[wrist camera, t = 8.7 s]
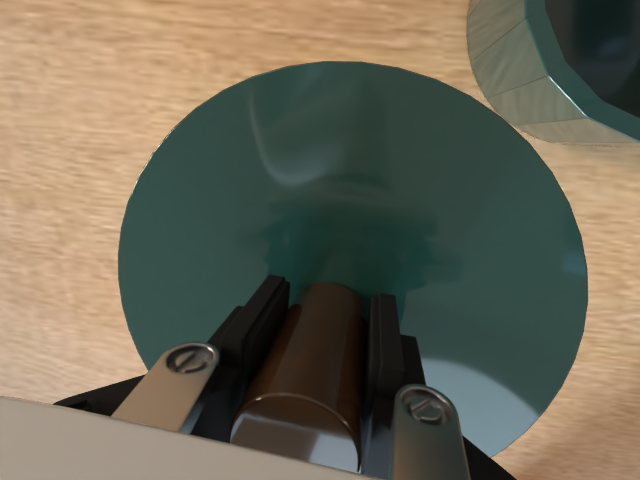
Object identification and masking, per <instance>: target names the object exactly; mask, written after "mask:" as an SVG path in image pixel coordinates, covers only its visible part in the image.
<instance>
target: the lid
mask: <svg viewBox="0 0 640 480" xmlns="http://www.w3.org/2000/svg"><path fill="white" fill-rule="evenodd" d="M269 274H270V275H276V276H283V277H285V281H288V282H290V294H289V305H288V311H287V313H286V315H285V317H284V319H283V321H282V323H281V325H280V327H279V329H278V331H277V333H276V334H275V336H274V338H273V340H272V342H271V344H270V346H269V348H268V350H267V352H266V354H265V356H264V358H263V360H262V362H261V364H260V366H259V368H258V370H257V372H256V374H255V375H254V377H253V379H252V381H251V383H250V385H249V387H248V389H247V391H246V393H245V395H244V397H243V399H242V401H241V403H240V405H239V407H238V409H237V411H236V413H235V415H234V417H233V419H232V421H231V424H230V427H229V443H230V444H234V445H238V446H243V447H247V448H251V449H256V450H260V451H265V452H269V453H273V454H278V455H282V456H286V457H291V458H295V459H299V460H304V461H308V462H312V463H317V464H321V465H325V466H329V467H334V468H338V469H342V470H346V471H351V472H355V473H359V474H360V472H361V462H362V444H363V418H364V410H363V409H364V385H365V361H366V337H367V322H368V316H369V311H370V305H371V299H372V296H378V294H379V293H385V294H391V295H395V297H396V304H397V312H398V319H399V327H400V334H402V335H407V336H413V337H416V339H417V343H418V348H419V352H420V357H421V362H422V367H423V371H424V376H425V381H426V386H429V387H432V388H434V389H436V390H438V391H439V392H441V393H443V394H444V395H445V396H446V397H448V398H449V399H450V400H451V402H452V403H453V404H454V406H455V407H456V410H457V412H458V416H459V421H460V426H461V431H462V435H463V436H464V437H465V438H467V439H468V440H469V441H470V442H472V443H473V444H474V445H475V446H476V447H478V448H479V449H480V450H481V451H483V452H484V453H485V454H486V455H487V456H489V457H490V458H491V457H493V456H494V455H496V454H498V453H499V452H501V451H502V450H504V449H505V448H507V447H508V446H509V445H510V444H512V443H513V442H514V441H515V440H516V439H518V438H519V437H520V436H521V435H522V434H524V433H525V432H526V431H527V430H528V429H529V428H530V427H531V426H532V425H533V424H534V422H535V421H536V420H537V419H538V418H539V417H540V416H541V415H542V414H543V413H544V412H545V411H546V409H547V408H548V406H549V405H550V403H551V402H552V400H553V399H554V398H555V396H556V395H557V393H558V392H559V390H560V389H561V387H562V386H563V384H564V381H565V379H566V377H567V375H568V373H569V371H570V369H571V367H572V365H573V363H574V361H575V358H576V355H577V352H578V348H579V345H580V342H581V339H582V335H583V332H584V326H585V319H586V312H587V305H588V276H587V264H586V259H585V254H584V248H583V243H582V237H581V234H580V231H579V229H578V226H577V223H576V220H575V217H574V215H573V212H572V209H571V206H570V203H569V202H568V200H567V198H566V196H565V194H564V193H563V191H562V189H561V187H560V185H559V184H558V182H557V180H556V178H555V176H554V175H553V173H552V171H551V170H550V169H549V168H548V166H547V165H546V164H545V162H544V161H543V160H542V159H541V157H540V156H539V155H538V153H537V152H536V151H535V150H534V148H533V147H532V146H531V144H530V143H529V142H528V141H527V140H526V139H524V138H523V137H522V136H521V135H520V134H519V133H518V132H517V131H516V130H515V129H514V128H513V127H512V126H511V125H509V124H508V123H507V122H506V121H505V120H504V119H503V118H502V117H500V116H499V115H498V114H496V113H495V112H493V111H492V110H490V109H489V108H487V107H486V106H484V105H483V104H482V103H480V102H479V101H477V100H476V99H474V98H473V97H471V96H470V95H468V94H465V93H463V92H461V91H459V90H457V89H455V88H453V87H451V86H449V85H447V84H445V83H443V82H441V81H439V80H437V79H434V78H431V77H427V76H424V75H421V74H418V73H415V72H412V71H408V70H405V69H402V68H399V67H392V66H386V65H380V64H374V63H367V62H356V61H321V62H314V63H306V64H299V65H291V66H286V67H283V68H279V69H276V70H272V71H269V72H265V73H262V74H258V75H255V76H252V77H250V78H248V79H246V80H244V81H242V82H239V83H237V84H235V85H233V86H231V87H228V88H226V89H224V90H222V91H221V92H219V93H218V94H216V95H215V96H213V97H212V98H210V99H209V100H207V101H206V102H204V103H202V104H201V105H199V106H198V107H196V108H195V109H194V110H193V111H192V112H191V113H190V114H188V115H187V116H186V117H185V118H184V119H183V120H182V121H181V122H180V123H178V124H177V125H176V126H175V127H174V128H173V129H172V130H171V131H170V132H169V134H168V135H167V136H166V137H165V139H164V140H163V141H162V142H161V143H160V145H159V146H158V147H157V148H156V149H155V151H154V152H153V153H152V155H151V157H150V158H149V160H148V162H147V163H146V165H145V167H144V168H143V170H142V172H141V173H140V175H139V177H138V179H137V181H136V184H135V186H134V188H133V191H132V193H131V196H130V198H129V200H128V203H127V207H126V211H125V215H124V219H123V222H122V226H121V232H120V241H119V249H118V281H119V288H120V295H121V302H122V307H123V311H124V314H125V318H126V322H127V325H128V329H129V331H130V334H131V336H132V339H133V341H134V344H135V346H136V349H137V351H138V353H139V355H140V357H141V359H142V361H143V362H144V364H145V366H146V368H147V370H148V372H149V370H150V369H151V368H152V367H153V366H154V364H155V363H156V362H157V361H158V360H159V358H160V357H161V356H162V355H163V354H164V353H165V352H166V351H167V350H168V349H170V348H172V347H174V346H176V345H178V344H181V343H185V342H192V341H199V342H207V341H208V340H209V339H210V337H211V336H212V335H213V334H214V333H215V331H216V330H217V329H218V328H219V327H220V325H221V324H222V323H223V322H224V321H225V319H226V318H227V317H228V316H229V315H230V313H231V312H232V311H233V310H234V309H235V308H236V307H237V306H245V304H246V303H247V302H248V301H249V299H250V298H251V297H252V295H253V294H254V293H255V292H256V290H257V289H258V288H259V287H260V285H261V284H262V283H263V282H264V280H265V279H266V278H267V276H268V275H269Z"/></svg>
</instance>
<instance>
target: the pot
mask: <svg viewBox="0 0 640 480" xmlns="http://www.w3.org/2000/svg"><path fill="white" fill-rule="evenodd" d="M467 44H468V54H469V58H470V62H471V67H472V70H473V73H474V75H475V78H476V81H477V83H478V85H479V87H480V89H481V91H482V92H483V94H484V96H485V98H486V99H487V101H488V102H489V103H490V104H491V106H492V107H493V108H494V109H495V111H496V112H497V113H499V114H500V115H501V116H502V117H503V118H504V119H505V120H506V121H507V122H509V123H510V124H512V125H513V126H515V127H516V128H517V129H519V130H521V131H523V132H525V133H527V134H529V135H531V136H533V137H536V138H540V139H543V140H545V141H547V142H553V143H561V144H571V145H581V146H595V147H628V148H640V0H470V1H469V8H468V15H467Z"/></svg>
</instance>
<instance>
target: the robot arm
mask: <svg viewBox="0 0 640 480" xmlns="http://www.w3.org/2000/svg"><path fill="white" fill-rule="evenodd" d="M289 294H290V282H288V281H285V277H283V276H276V275H270V274H269V275H268V276H267V278H266V279H265V280H264V282H263V283H262V284H261V285H260V287H259V288H258V289H257V290H256V292H255V293H254V294H253V295H252V297H251V298H250V299H249V301H248V302H247V303H246V304H245V306H237V307H236V308H235V309H234V310H233V311H232V312H231V313H230V315H229V316H228V317H227V318H226V319H225V321H224V322H223V323H222V324H221V325H220V327H219V328H218V329H217V330H216V331H215V333H214V334H213V335H212V336H211V337H210V339H209V340H208V341H207V342H199V341H192V342H185V343H181V344H178V345H176V346H174V347H172V348H170V349H168V350H167V351H166V352H165V353H164V354H163V355H162V356H161V357H160V358H159V360H158V361H157V362H156V363H155V364H154V366H153V367H152V368H151V369H150V370H149V372H148V373H147V374H145V375H142V376H139V377H135V378H132V379H129V380H125V381H122V382H119V383H115V384H112V385H108V386H105V387H102V388H98V389H95V390H92V391H88V392H85V393H82V394H78V395H75V396H72V397H68V398H66V399H63V400H61V401H58V402H56V403H54V404H47V403H42V402H36V401H31V400H26V399H20V398H14V397H4V396H0V480H517V479H515V478H514V477H513V476H512V475H511V474H509V473H508V472H507V471H506V470H504V469H503V468H502V467H501V466H500V465H498V464H497V463H496V462H495V461H494V460H492V459H491V458H490V457H489V456H487V455H486V454H485V453H484V452H483V451H481V450H480V449H479V448H478V447H476V446H475V445H474V444H473V443H472V442H470V441H469V440H468V439H467V438H465V437H464V436H463V435H462V431H461V426H460V421H459V416H458V412H457V410H456V407H455V406H454V404H453V403H452V402H451V400H450V399H449V398H448V397H446V396H445V395H444V394H443V393H441V392H439V391H438V390H436V389H434V388H432V387H429V386H426V381H425V376H424V371H423V367H422V362H421V357H420V352H419V348H418V343H417V339H416V337H413V336H407V335H402V334H400V327H399V319H398V312H397V304H396V297H395V295H391V294H385V293H379V294H378V296H372V299H371V305H370V311H369V316H368V322H367V337H366V361H365V385H364V409H363V410H364V418H363V444H362V462H361V472H360V474H359V473H355V472H351V471H346V470H342V469H338V468H334V467H329V466H325V465H321V464H317V463H312V462H308V461H304V460H299V459H295V458H291V457H286V456H282V455H278V454H273V453H269V452H265V451H260V450H256V449H251V448H247V447H243V446H238V445H234V444H230V443H229V427H230V424H231V421H232V419H233V417H234V415H235V413H236V411H237V409H238V407H239V405H240V403H241V401H242V399H243V397H244V395H245V393H246V391H247V389H248V387H249V385H250V383H251V381H252V379H253V377H254V375H255V374H256V372H257V370H258V368H259V366H260V364H261V362H262V360H263V358H264V356H265V354H266V352H267V350H268V348H269V346H270V344H271V342H272V340H273V338H274V336H275V334H276V333H277V331H278V329H279V327H280V325H281V323H282V321H283V319H284V317H285V315H286V313H287V311H288V305H289Z"/></svg>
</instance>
